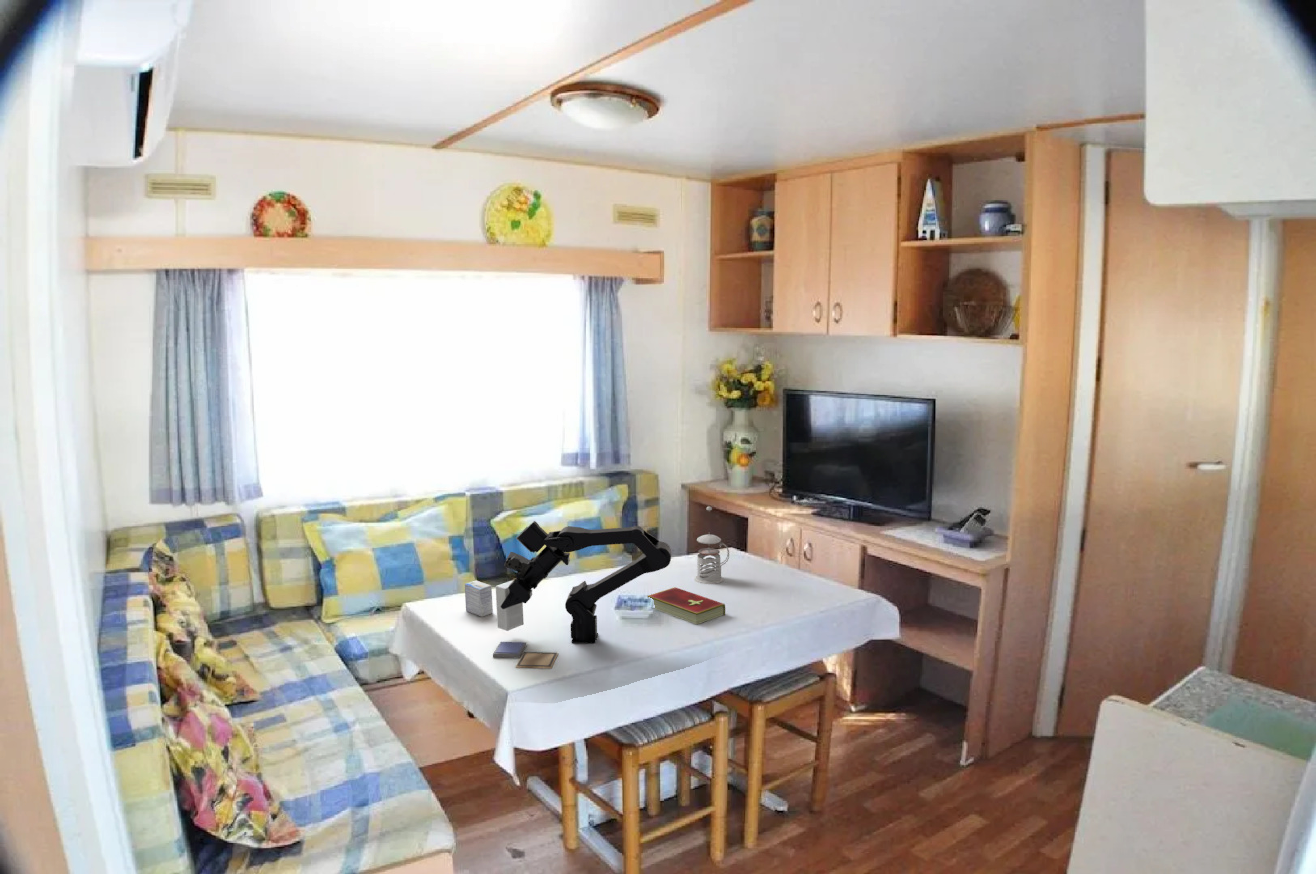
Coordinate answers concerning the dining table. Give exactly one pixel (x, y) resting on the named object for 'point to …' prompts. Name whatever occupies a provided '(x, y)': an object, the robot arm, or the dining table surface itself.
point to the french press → (709, 560)
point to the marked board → (537, 660)
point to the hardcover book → (687, 605)
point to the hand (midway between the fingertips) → (504, 603)
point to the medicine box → (478, 598)
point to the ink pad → (510, 649)
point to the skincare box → (507, 609)
